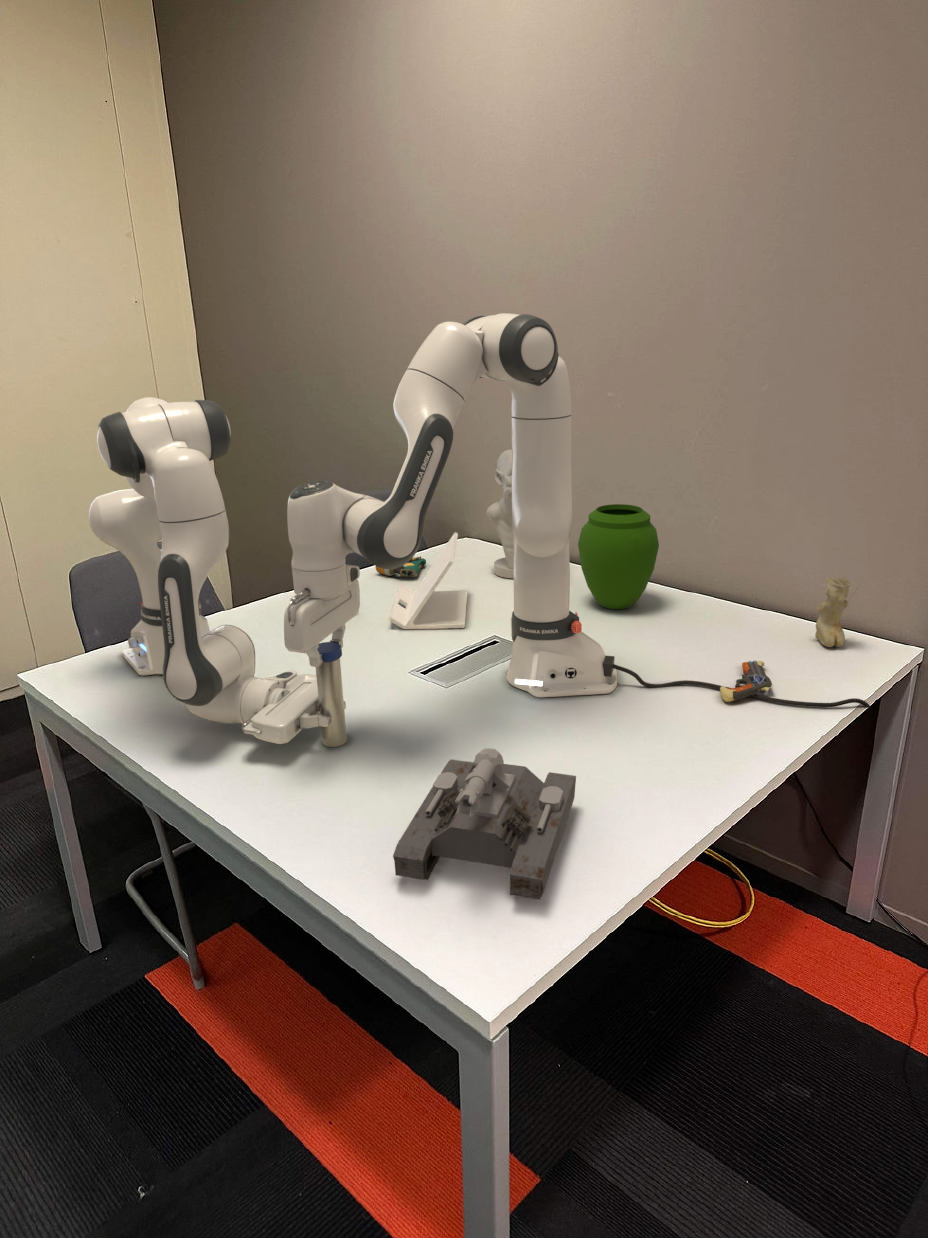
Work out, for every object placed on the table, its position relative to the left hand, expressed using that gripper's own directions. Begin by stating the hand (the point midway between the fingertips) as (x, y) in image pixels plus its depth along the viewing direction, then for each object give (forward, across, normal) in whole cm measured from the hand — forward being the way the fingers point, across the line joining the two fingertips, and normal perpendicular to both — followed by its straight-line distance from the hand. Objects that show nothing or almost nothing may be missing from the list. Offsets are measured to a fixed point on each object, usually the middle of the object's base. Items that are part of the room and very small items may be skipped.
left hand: (337, 713), depth 150 cm
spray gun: (-28, +97, +6) cm, 101 cm away
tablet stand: (-8, +67, +6) cm, 68 cm away
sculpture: (+84, +70, +6) cm, 110 cm away
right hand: (-1, 0, -11) cm, 11 cm away
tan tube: (-1, 0, +6) cm, 6 cm away
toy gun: (+67, +43, +6) cm, 80 cm away
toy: (+35, -21, +6) cm, 41 cm away
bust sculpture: (+7, +101, +6) cm, 102 cm away
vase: (+36, +83, +6) cm, 91 cm away
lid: (-1, 0, -12) cm, 12 cm away
